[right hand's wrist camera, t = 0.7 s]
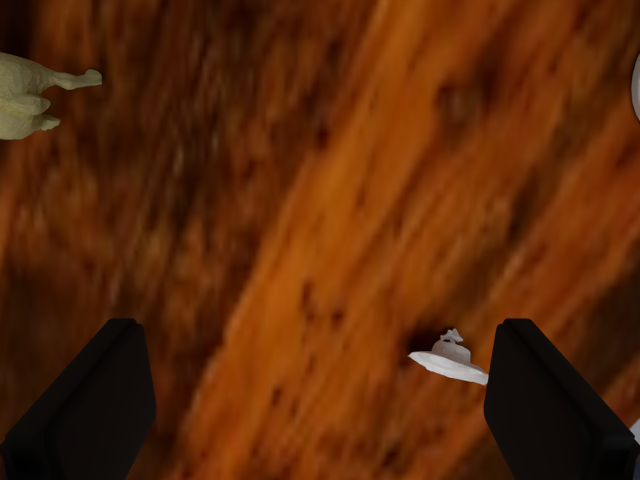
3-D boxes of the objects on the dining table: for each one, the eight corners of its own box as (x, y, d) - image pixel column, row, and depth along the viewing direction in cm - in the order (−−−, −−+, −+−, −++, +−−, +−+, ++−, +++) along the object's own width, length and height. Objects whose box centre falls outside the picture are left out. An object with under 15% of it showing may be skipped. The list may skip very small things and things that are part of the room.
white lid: (446, 326, 50) (511, 363, 44) (423, 366, 49) (486, 408, 44) (420, 304, 44) (491, 343, 38) (393, 349, 43) (461, 395, 38)
